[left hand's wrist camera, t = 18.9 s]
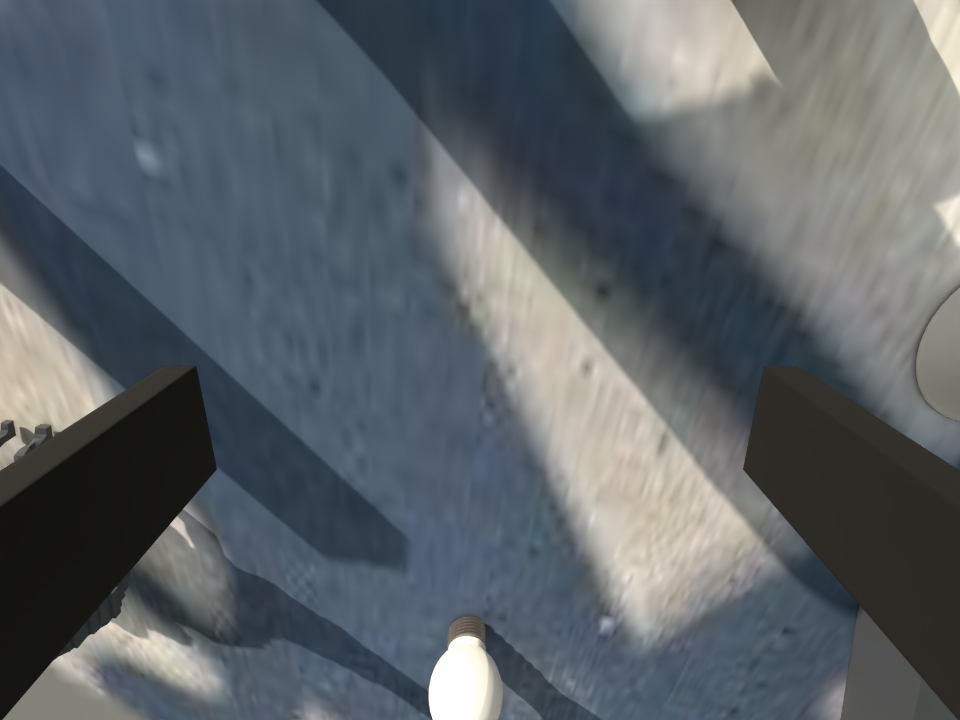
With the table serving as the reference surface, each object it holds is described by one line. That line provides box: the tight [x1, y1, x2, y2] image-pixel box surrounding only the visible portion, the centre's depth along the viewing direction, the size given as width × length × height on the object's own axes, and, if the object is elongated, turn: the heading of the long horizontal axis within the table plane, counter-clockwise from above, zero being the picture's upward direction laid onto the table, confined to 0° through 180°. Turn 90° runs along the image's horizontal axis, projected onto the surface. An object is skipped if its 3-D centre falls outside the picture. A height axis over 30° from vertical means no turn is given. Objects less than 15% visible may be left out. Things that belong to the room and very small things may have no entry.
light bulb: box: [429, 617, 503, 720], centre depth 50 cm, size 7×7×11 cm
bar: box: [841, 604, 957, 720], centre depth 54 cm, size 25×5×8 cm, turn 7°
